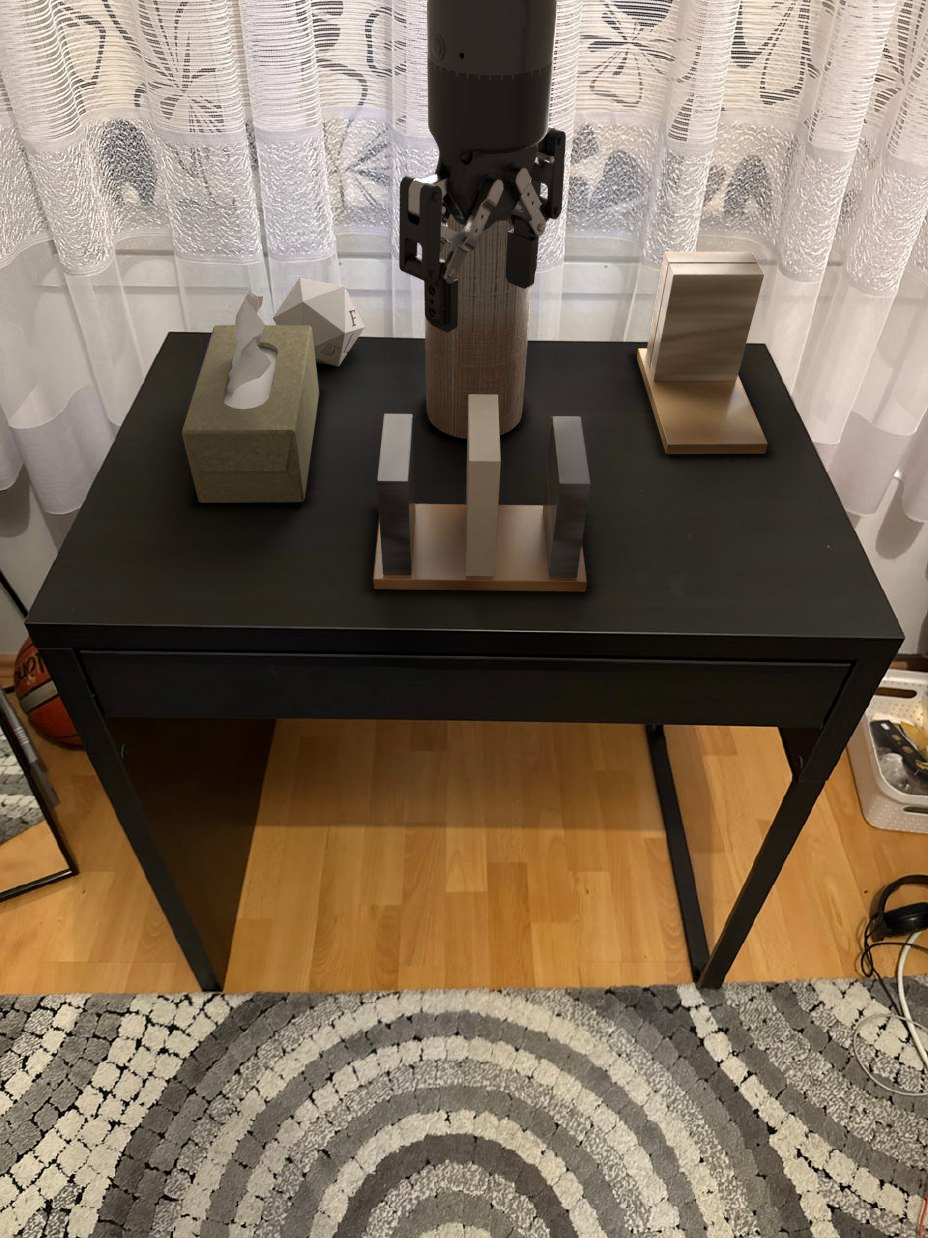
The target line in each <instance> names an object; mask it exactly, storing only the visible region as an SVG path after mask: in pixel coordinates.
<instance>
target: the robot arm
mask: <svg viewBox="0 0 928 1238" xmlns="http://www.w3.org/2000/svg"><path fill="white" fill-rule="evenodd" d="M557 17H558V0H426V70H427V71H426V73H427V74H426V75H427V76H426V77H427V126H428V130H429V133H430V134H431V136H432V138H433V139H434V142H435V144H436V146H437V148H438V149H437V150H438V159H437V164H436V168H435V170H434V175H430V176H427V177H424V178H421V179H420V178H417V177H415V176H412V175H409V174H407V175H404V176H403V177H402V179H401V181H400V184H399V216H398V217H399V218H398V221H399V222H398V223H399V224H398V225H399V226H398V227H399V230H398V233H399V234H398V267H399V270H400V271H401V272H403V273H405V274H408V275H410V276H412V277H414V278H416V279H419V280H420V281H423V295H424V296H423V300H425V303H424V318H425V317H426V319H427V320H428V321H429V323H430V324H431V325H432V326H434V327H436V328H438V329H441V330H443V331H445V332H450V331H452V330H454V329H455V328H457V326H458V279H456V277H457V274H458V272H459V270H460V267H461V265H462V262H463V260H464V258H465V255H466V253H467V252H469V251H472V250H474V249H475V247H476V245H477V243H478V241H479V238H480V236H481V233H482V231H484V230H486V229H488V228H490V227H491V226H492V225H493V224H494V223H495V222H496V221H504V220H506V219H507V221H508V222H509V224H510V226H512V227H514V229H512V230H510V231H508V232H507V253H506V273H505V276H506V279H507V281H508V282H509V283H511V284H513V285H516V286H518V287H521V288H523V289H526V288H528V287H530V286H532V287H533V285H534V284H535V280H536V279H535V278H536V272H537V267H538V255H539V240H540V237H542V235H543V234H544V233H545V230H546V228H547V227H546V226H547V222H548V221H549V220H550V219H551V220H554V221H556V220H558V218H560V215H562V214H561V213H562V210H563V200H564V199H563V196H564V182H565V181H564V179H565V161H566V144H567V143H566V142H567V135H566V132H565V131H563V130H559V129H558V128H555V127H552V126H550V125H549V123H550V111H551V110H550V109H551V96H552V85H553V71H554V59H555V58H554V55H555V43H556V33H557V32H556V29H557V19H558V18H557ZM542 185H545V186H546V187H547V194H546V195H547V196H543V195H542V194H541V193H542V192H541V191H542ZM450 214H451V215H452V217H453V218H454V220H455V221H456V222H458V223H459V224H461V225H464V226H465V228H464V229H463V230H461V231H456V230H454V229H451V228H449V227H447V222H448V219H449V217H450ZM446 242H449V243H451V247H450V250H449V252H448V255H447V257H446V260H445V261H444V260H442V259H440V253H441V250H442V248H443V246H444V244H445V243H446ZM418 244H419V245H420V247H421V254H418Z"/></svg>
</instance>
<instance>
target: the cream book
mask: <svg viewBox="0 0 928 1238" xmlns="http://www.w3.org/2000/svg"><path fill="white" fill-rule="evenodd" d="M500 436H501V435H500V433H499V410H498V395H483V394H469V395H468V438H467V439H466V441H467V443H466V451H467V452H466V483H465V484H466V485H465V487H466V488H465V505H466V576H494V573H495V555H496V537H497V520H498V505H499V503H500V501H499V500H500V482H501V464H502V463H501V462H502V461H501V460H502V459H501V439H500V438H501V437H500Z"/></svg>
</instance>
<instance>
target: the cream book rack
mask: <svg viewBox="0 0 928 1238" xmlns="http://www.w3.org/2000/svg"><path fill="white" fill-rule="evenodd" d="M764 277H765V273H764V271H763V270H762V268H761V266H760V264H759V263H758V261H757V259H756V257H755V255H754V253H753V252H752V251H664V252H663V257H662V262H661V268H660V273H659V278H658V279H659V280H658V285H657V290H656V297H655V302H654V308H653V314H652V319H651V324H650V329H649V335H648V340H647V346H646V348H638V349H637V355H636V359H637V363H638V366H639V367H638V368H639V369H640V374H641V376H642V379H643V383H644V387H645V389H646V393H647V396H648V399H649V402H650V406H651V409H652V413H653V417H654V419H655V423H656V425H657V429H658V432H659V436H660V439H661V443H662V445H663V448H664V452H665V454H666V455H718V454H719V455H729V454H730V455H732V454H734V455H736V454H738V455H740V454H745V455H748V454H766V451H767V448H768V445H769V443H768V442H767V438H766V436H765V434H764V432H763V429H762V427H761V425H760V423H759V420H758V418H757V415H756V413H755V410H754V409H753V406H752V405H751V402H750V399H749V397H748V395H747V392H746V390H745V388H744V385H743V383H742V381H741V379H740V376H739V372H740V368H741V364H742V361H743V357H744V354H745V353H744V352H745V349H746V346H747V342H748V337H749V334H750V330H751V327H752V322H753V319H754V315H755V312H756V309H757V308H756V307H757V304H758V300H759V296H760V292H761V289H762V285H763V281H764Z"/></svg>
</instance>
